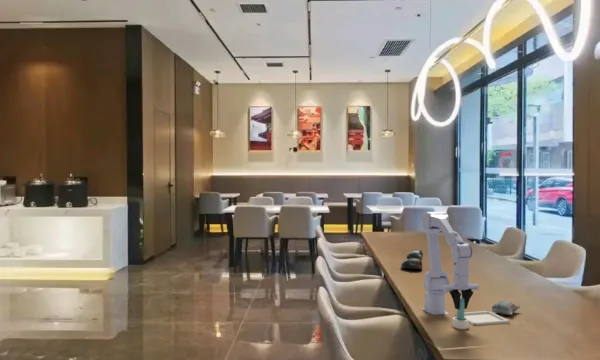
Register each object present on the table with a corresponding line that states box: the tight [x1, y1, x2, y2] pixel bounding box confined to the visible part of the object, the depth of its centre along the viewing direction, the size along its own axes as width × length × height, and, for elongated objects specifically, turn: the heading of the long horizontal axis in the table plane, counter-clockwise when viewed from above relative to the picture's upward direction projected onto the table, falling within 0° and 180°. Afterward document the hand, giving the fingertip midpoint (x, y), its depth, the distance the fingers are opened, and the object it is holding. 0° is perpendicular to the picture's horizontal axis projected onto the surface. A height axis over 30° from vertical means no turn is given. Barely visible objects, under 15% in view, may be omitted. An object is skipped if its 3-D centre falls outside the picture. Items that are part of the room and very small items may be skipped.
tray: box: [455, 310, 510, 326], centre depth 206 cm, size 14×16×2 cm
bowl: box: [452, 316, 470, 330], centre depth 196 cm, size 6×6×4 cm
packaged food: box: [491, 300, 521, 316], centre depth 216 cm, size 9×12×5 cm
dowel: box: [456, 296, 466, 320], centre depth 196 cm, size 3×3×8 cm
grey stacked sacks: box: [400, 250, 424, 271], centre depth 312 cm, size 15×12×14 cm
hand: (460, 308), depth 196 cm, fingers closed on dowel, 3 cm apart
